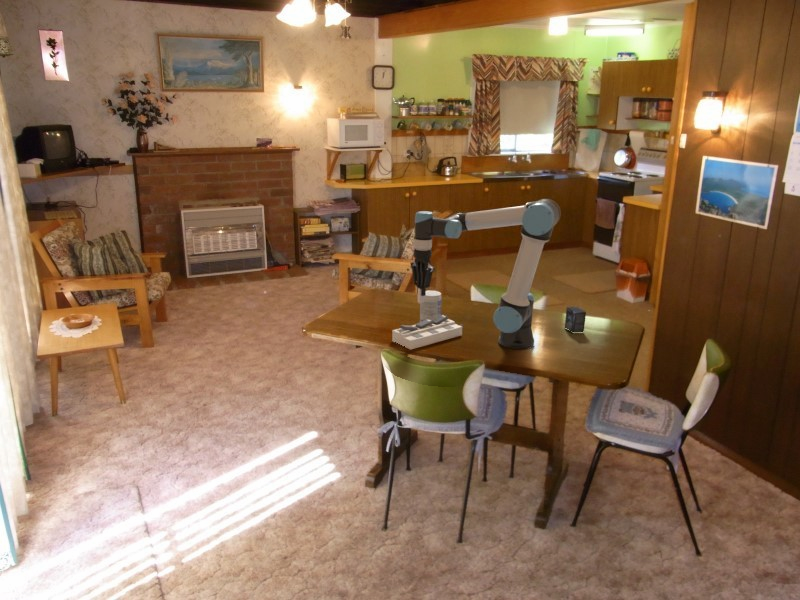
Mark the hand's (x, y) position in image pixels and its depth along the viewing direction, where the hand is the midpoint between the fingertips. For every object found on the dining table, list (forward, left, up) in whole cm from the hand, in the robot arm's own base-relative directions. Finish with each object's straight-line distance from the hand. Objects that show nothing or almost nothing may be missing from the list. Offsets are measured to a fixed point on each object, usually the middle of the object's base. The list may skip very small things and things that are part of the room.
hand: (420, 302), depth 296 cm
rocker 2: (0, -3, -10) cm, 11 cm away
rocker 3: (0, -12, -10) cm, 16 cm away
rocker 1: (0, +6, -10) cm, 12 cm away
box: (-34, -64, -17) cm, 74 cm away
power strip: (-2, -6, -16) cm, 17 cm away
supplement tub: (+12, -17, -17) cm, 26 cm away
